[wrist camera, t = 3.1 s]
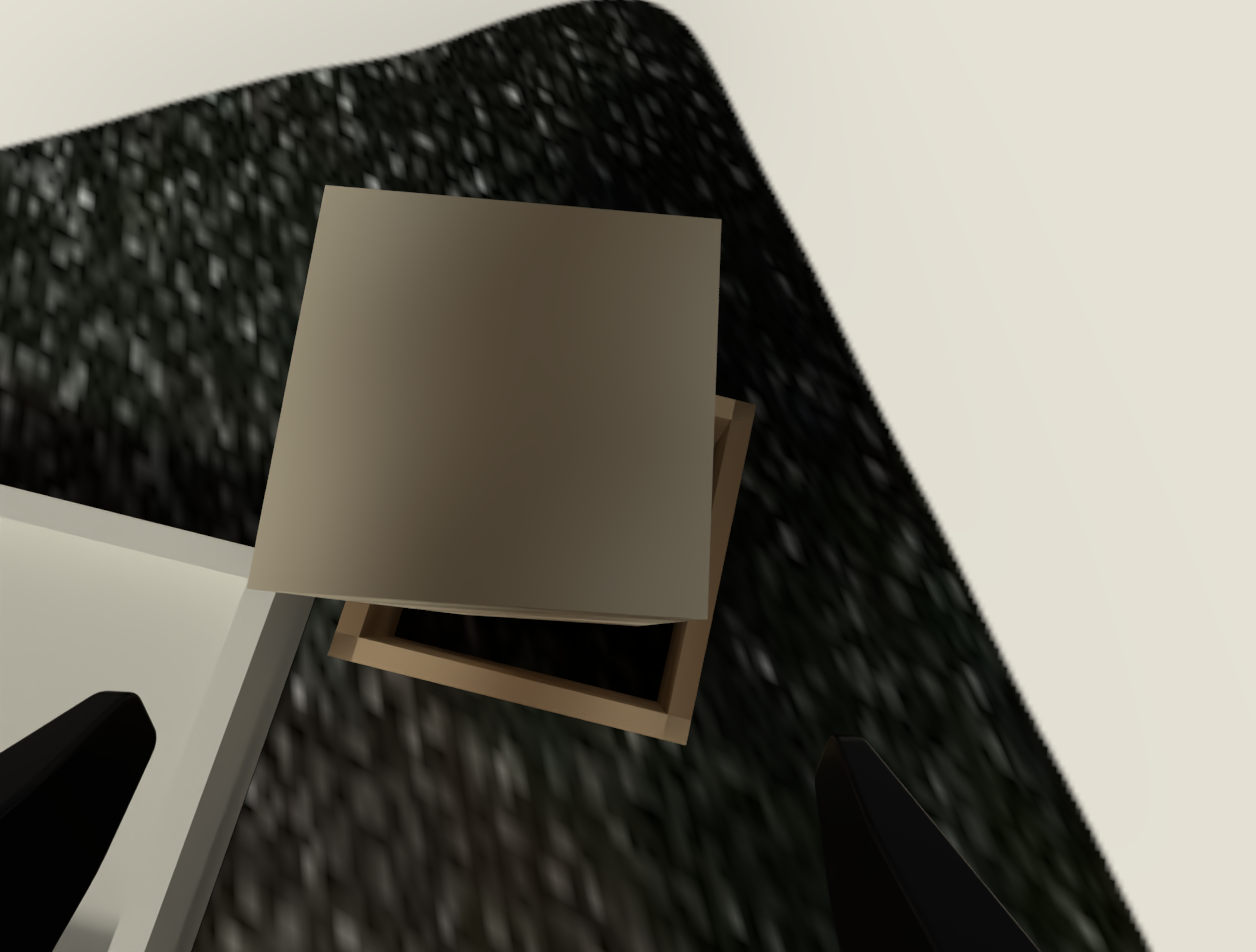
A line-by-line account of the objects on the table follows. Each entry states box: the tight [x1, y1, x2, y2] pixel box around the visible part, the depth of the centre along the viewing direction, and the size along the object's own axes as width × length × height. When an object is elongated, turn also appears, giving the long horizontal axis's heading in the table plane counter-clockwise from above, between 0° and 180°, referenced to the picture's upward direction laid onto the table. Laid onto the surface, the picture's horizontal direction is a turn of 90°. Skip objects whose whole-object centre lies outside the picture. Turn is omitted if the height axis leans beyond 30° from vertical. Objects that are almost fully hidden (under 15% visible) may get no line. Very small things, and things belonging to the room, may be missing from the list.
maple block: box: [247, 185, 721, 626], centre depth 14 cm, size 5×5×13 cm
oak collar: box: [327, 395, 756, 745], centre depth 19 cm, size 9×9×3 cm
